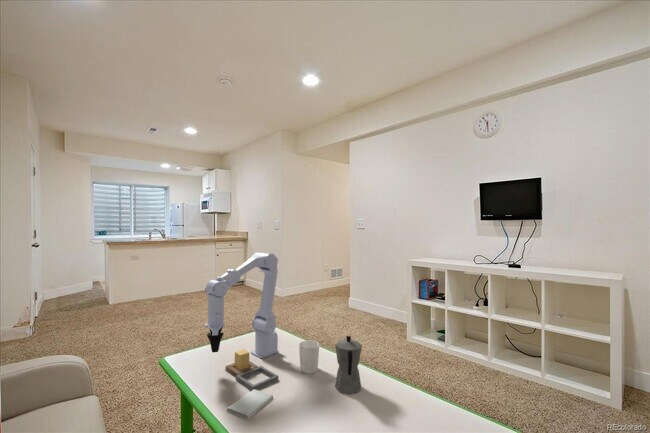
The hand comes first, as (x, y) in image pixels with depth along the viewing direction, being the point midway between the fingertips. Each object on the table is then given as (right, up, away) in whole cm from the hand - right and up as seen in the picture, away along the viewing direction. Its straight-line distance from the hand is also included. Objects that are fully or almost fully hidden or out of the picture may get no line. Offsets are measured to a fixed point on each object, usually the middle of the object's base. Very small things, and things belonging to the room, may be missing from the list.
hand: (215, 347), depth 119 cm
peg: (+9, -10, +3) cm, 14 cm away
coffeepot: (+50, -10, -10) cm, 52 cm away
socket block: (+9, -10, +3) cm, 14 cm away
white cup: (+35, -11, +4) cm, 37 cm away
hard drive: (+18, -10, -20) cm, 29 cm away
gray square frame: (+17, -10, -4) cm, 20 cm away
